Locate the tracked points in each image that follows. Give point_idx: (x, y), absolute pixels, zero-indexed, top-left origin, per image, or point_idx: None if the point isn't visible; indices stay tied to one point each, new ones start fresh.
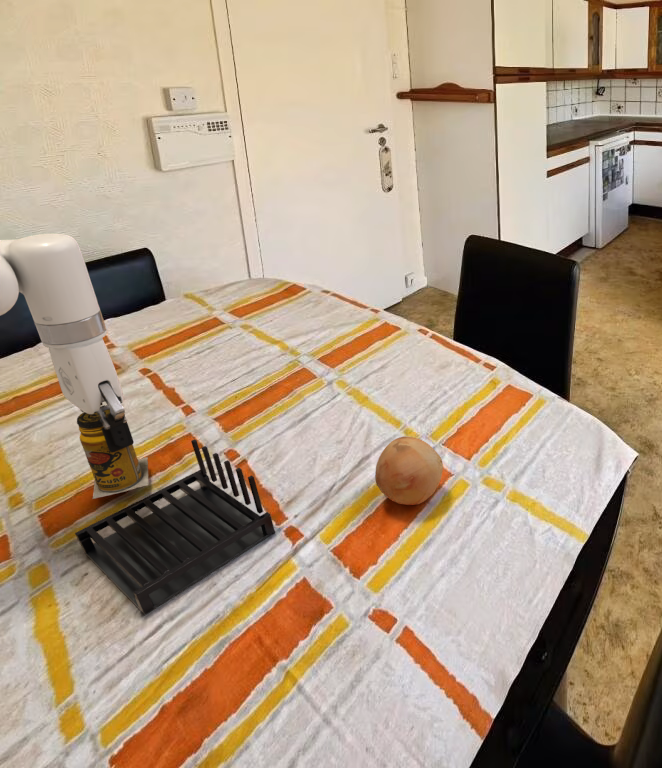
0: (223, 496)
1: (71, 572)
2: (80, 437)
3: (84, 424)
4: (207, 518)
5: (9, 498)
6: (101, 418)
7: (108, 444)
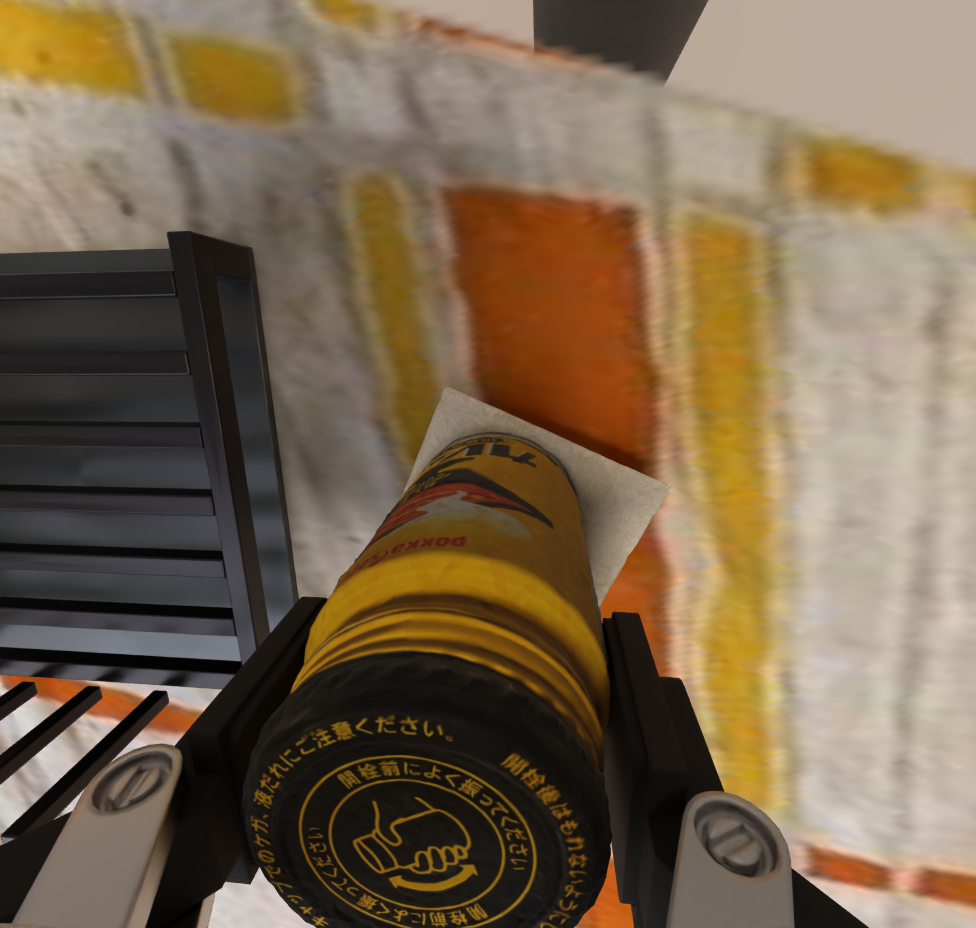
0: (53, 663)
1: (169, 174)
2: (476, 567)
3: (316, 703)
4: (127, 575)
5: (909, 157)
6: (65, 871)
7: (274, 631)
